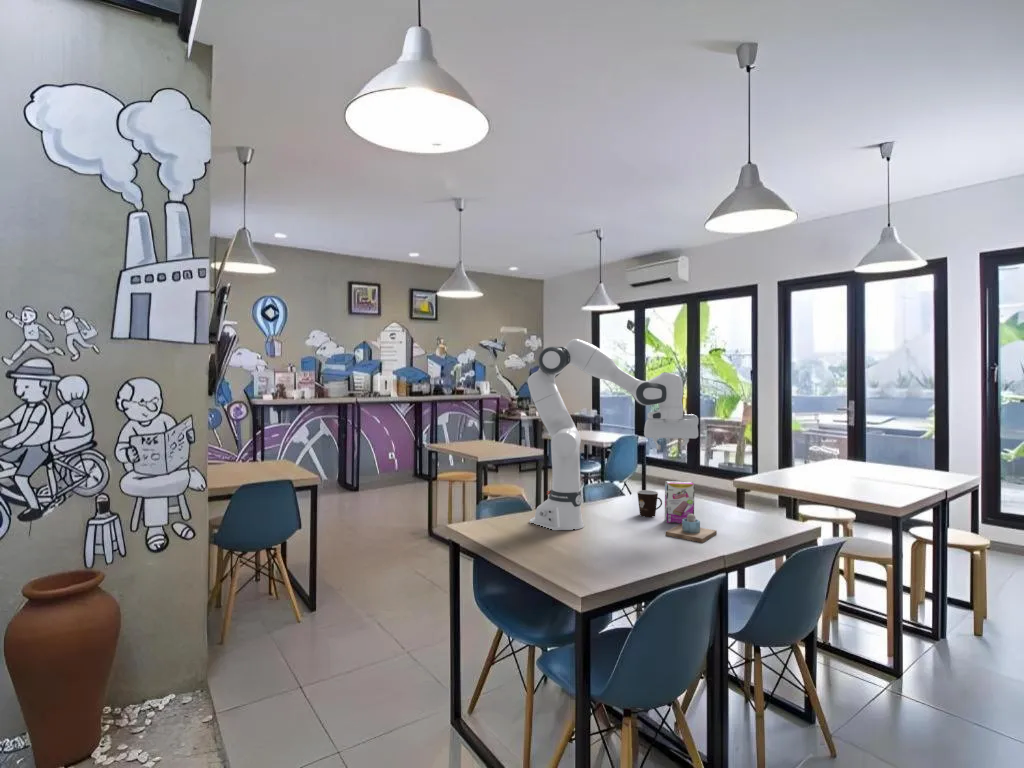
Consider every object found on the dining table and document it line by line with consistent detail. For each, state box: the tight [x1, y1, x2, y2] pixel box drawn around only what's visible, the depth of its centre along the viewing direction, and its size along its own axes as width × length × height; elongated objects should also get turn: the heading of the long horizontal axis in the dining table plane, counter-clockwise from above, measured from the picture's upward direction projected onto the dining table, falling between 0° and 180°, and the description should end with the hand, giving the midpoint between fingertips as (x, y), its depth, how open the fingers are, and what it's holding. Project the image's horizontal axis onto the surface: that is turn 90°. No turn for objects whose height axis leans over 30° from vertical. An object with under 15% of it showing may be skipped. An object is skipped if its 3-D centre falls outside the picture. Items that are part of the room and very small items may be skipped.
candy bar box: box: [664, 480, 696, 524], centre depth 220 cm, size 11×5×16 cm, turn 84°
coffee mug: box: [637, 489, 663, 518], centre depth 230 cm, size 12×9×10 cm
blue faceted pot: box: [681, 518, 701, 533], centre depth 201 cm, size 6×6×4 cm
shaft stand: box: [665, 513, 718, 544], centre depth 201 cm, size 14×14×8 cm
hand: (670, 449), depth 209 cm, fingers open, 8 cm apart
